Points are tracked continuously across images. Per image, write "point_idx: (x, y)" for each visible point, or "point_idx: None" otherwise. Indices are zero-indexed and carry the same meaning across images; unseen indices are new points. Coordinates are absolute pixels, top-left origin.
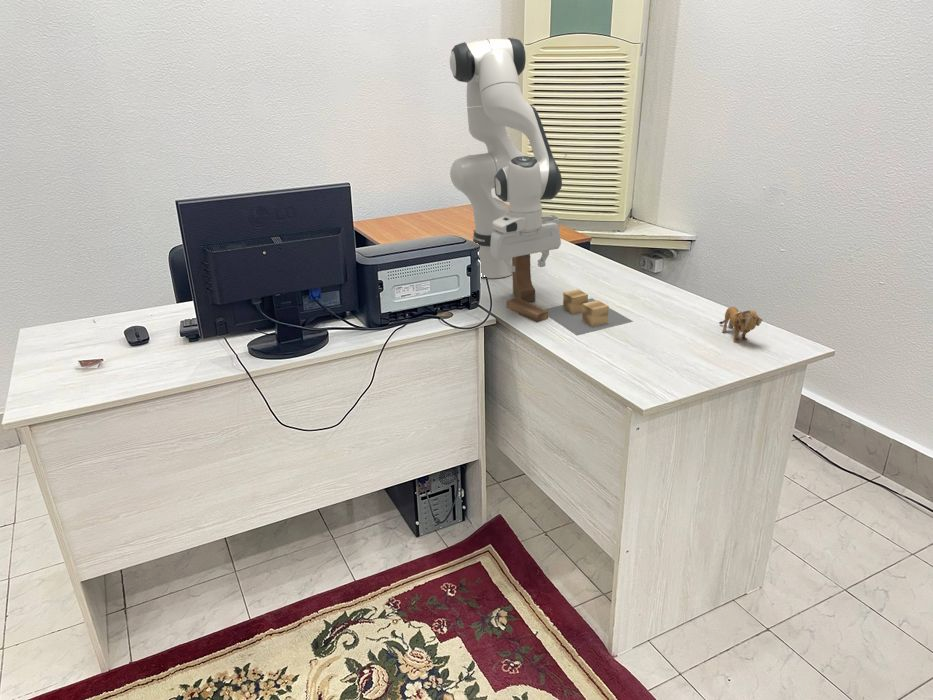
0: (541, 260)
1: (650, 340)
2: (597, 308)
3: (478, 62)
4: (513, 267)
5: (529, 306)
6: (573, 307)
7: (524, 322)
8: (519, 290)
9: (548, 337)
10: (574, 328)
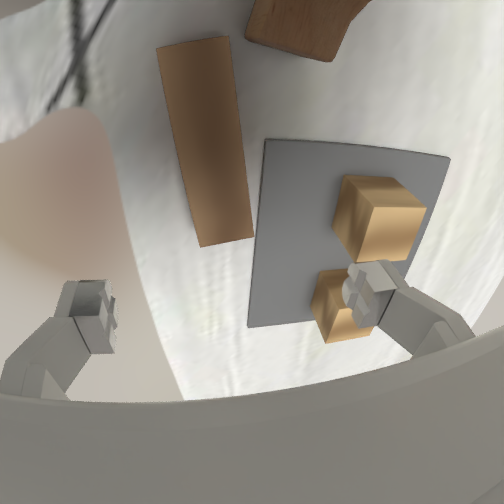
0: (378, 314)
1: (343, 360)
2: (339, 340)
3: None
4: (99, 349)
5: (218, 162)
6: (343, 241)
7: (163, 199)
8: (261, 17)
9: (183, 308)
10: (269, 300)
